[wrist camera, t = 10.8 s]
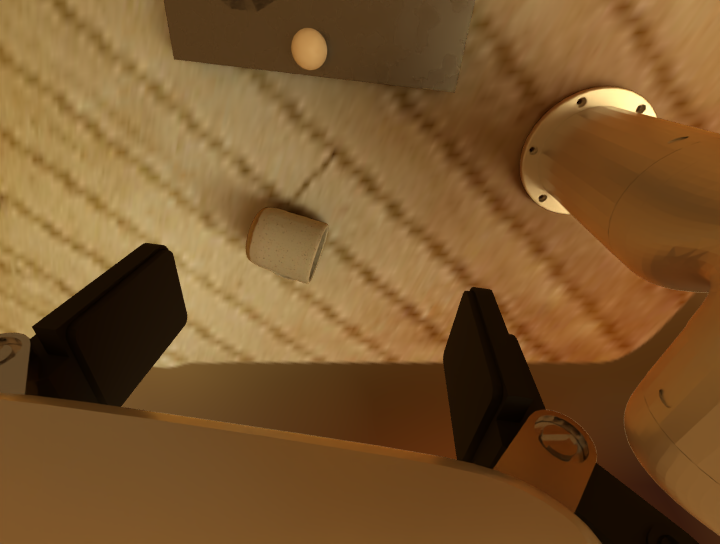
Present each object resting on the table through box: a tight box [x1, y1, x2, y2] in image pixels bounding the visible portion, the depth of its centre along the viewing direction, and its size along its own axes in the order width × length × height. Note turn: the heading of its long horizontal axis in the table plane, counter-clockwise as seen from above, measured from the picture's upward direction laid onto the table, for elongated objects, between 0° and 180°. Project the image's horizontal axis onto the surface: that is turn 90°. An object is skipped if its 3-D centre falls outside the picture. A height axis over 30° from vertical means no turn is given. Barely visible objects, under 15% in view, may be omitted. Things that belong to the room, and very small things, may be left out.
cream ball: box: [291, 28, 327, 70], centre depth 29 cm, size 3×3×3 cm
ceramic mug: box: [246, 207, 329, 284], centre depth 42 cm, size 11×8×8 cm
